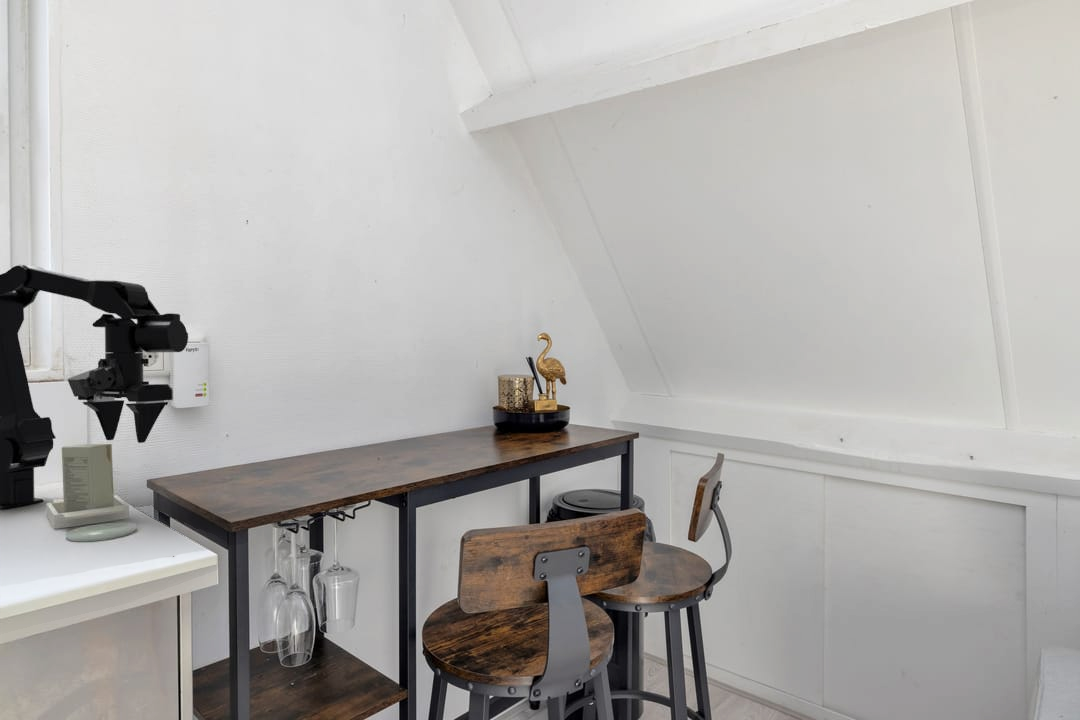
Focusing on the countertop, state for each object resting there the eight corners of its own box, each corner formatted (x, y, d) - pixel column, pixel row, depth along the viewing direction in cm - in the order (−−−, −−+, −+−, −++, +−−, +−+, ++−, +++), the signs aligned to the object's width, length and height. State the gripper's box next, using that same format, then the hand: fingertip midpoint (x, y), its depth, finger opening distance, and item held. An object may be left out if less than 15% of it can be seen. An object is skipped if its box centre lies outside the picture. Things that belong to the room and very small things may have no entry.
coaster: (62, 533, 104) (62, 529, 104) (130, 523, 110) (130, 519, 110) (70, 545, 97) (70, 541, 97) (141, 534, 103) (141, 530, 103)
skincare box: (115, 515, 116) (114, 443, 116) (93, 521, 112) (92, 446, 112) (84, 513, 118) (83, 442, 118) (61, 519, 113) (60, 445, 113)
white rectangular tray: (44, 513, 118) (44, 500, 118) (113, 504, 125) (113, 492, 125) (56, 532, 105) (56, 518, 105) (132, 521, 111) (132, 508, 111)
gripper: (44, 353, 118) (46, 444, 118) (108, 352, 109) (110, 449, 109) (110, 353, 128) (111, 437, 128) (174, 352, 119) (175, 441, 119)
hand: (125, 441), depth 121 cm, fingers open, 9 cm apart
